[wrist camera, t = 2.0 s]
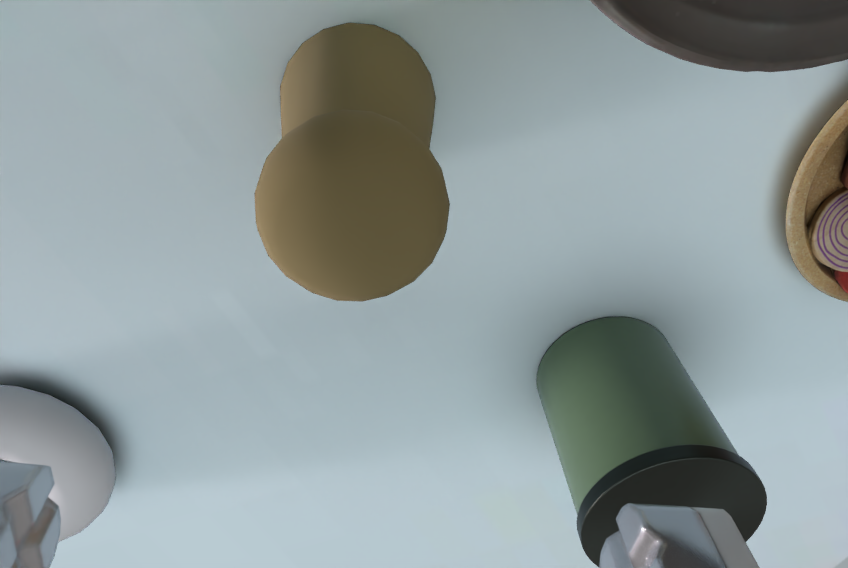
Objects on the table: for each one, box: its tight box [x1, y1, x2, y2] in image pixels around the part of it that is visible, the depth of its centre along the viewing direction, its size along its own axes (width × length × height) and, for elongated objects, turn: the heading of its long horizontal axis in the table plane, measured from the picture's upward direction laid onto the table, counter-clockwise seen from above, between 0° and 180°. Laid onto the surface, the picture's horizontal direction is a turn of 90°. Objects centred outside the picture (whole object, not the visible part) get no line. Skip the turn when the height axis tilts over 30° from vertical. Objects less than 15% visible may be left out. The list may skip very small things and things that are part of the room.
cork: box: [255, 23, 450, 301], centre depth 21 cm, size 6×6×11 cm
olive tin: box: [537, 317, 767, 567], centre depth 30 cm, size 7×7×9 cm
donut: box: [0, 385, 116, 542], centre depth 32 cm, size 10×4×10 cm
